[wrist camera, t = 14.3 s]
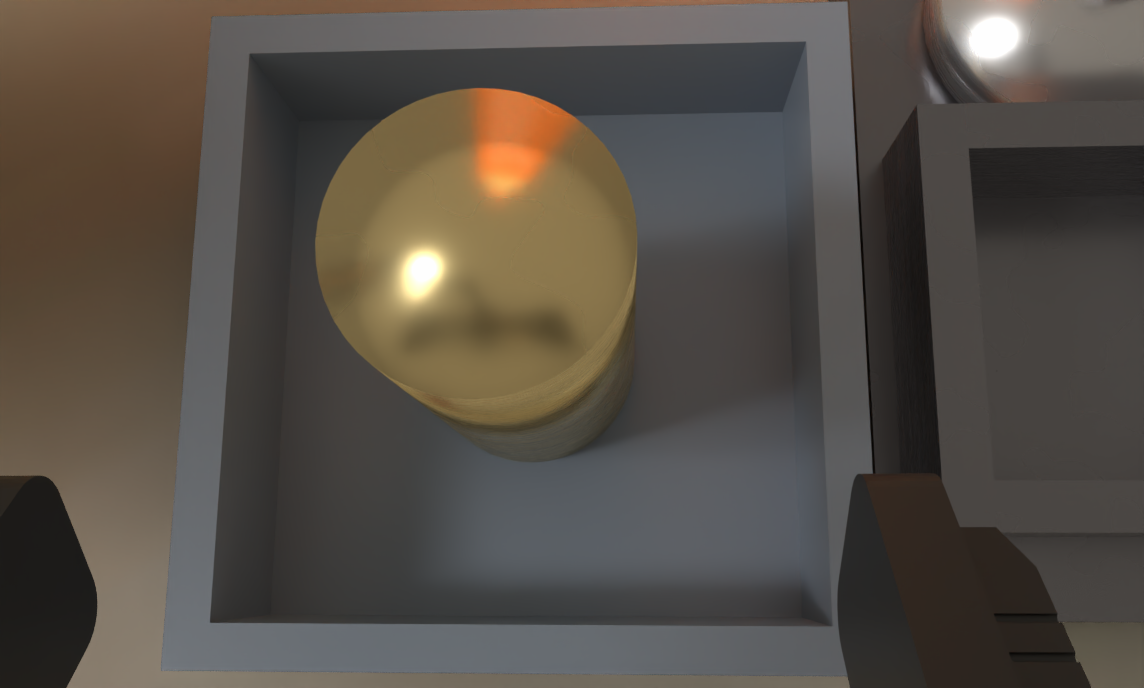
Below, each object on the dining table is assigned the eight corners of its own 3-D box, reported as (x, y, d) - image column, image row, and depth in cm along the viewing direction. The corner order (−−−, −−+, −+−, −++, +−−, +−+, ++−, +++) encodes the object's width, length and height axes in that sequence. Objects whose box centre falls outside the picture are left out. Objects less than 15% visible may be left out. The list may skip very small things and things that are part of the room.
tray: (247, 651, 21) (160, 670, 17) (281, 108, 23) (211, 16, 20) (835, 655, 21) (883, 676, 17) (809, 98, 23) (846, 1, 19)
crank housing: (859, 615, 21) (955, 635, 15) (826, -41, 24) (895, -252, 17) (1286, 617, 20) (1568, 640, 14) (1200, -50, 23) (1404, -270, 17)
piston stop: (429, 463, 21) (307, 400, 13) (433, 264, 22) (323, 92, 14) (635, 461, 21) (639, 397, 13) (632, 260, 21) (635, 83, 14)
